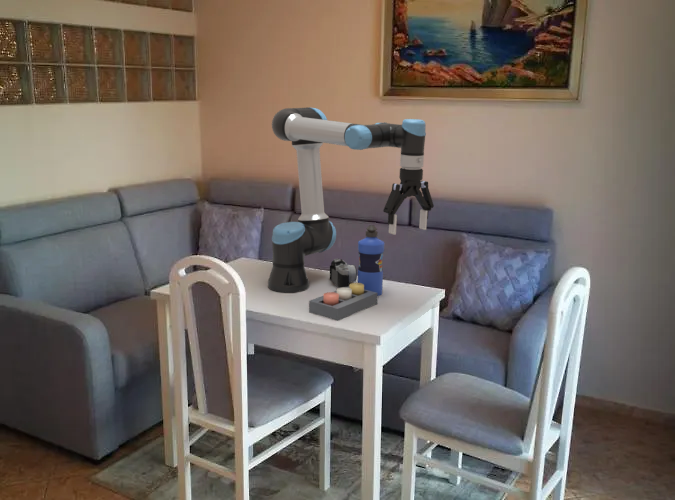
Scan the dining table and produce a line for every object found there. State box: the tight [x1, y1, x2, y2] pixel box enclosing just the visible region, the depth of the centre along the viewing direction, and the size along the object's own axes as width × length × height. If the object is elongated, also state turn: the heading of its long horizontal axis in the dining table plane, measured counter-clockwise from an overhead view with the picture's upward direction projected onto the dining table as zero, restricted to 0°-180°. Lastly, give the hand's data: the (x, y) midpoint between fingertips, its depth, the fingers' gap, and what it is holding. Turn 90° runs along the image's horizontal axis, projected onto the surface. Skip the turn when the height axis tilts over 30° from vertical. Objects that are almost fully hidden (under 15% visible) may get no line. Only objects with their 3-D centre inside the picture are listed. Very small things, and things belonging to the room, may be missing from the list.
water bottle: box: [357, 224, 385, 297], centre depth 240 cm, size 9×9×25 cm
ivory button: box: [336, 287, 352, 301], centre depth 225 cm, size 5×5×3 cm
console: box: [308, 285, 379, 322], centre depth 226 cm, size 12×22×4 cm, turn 141°
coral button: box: [322, 291, 339, 306], centre depth 220 cm, size 5×5×3 cm
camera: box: [329, 258, 358, 289], centre depth 251 cm, size 16×9×10 cm, turn 16°
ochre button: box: [349, 282, 364, 296], centre depth 231 cm, size 5×5×3 cm
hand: (407, 231), depth 223 cm, fingers open, 13 cm apart
